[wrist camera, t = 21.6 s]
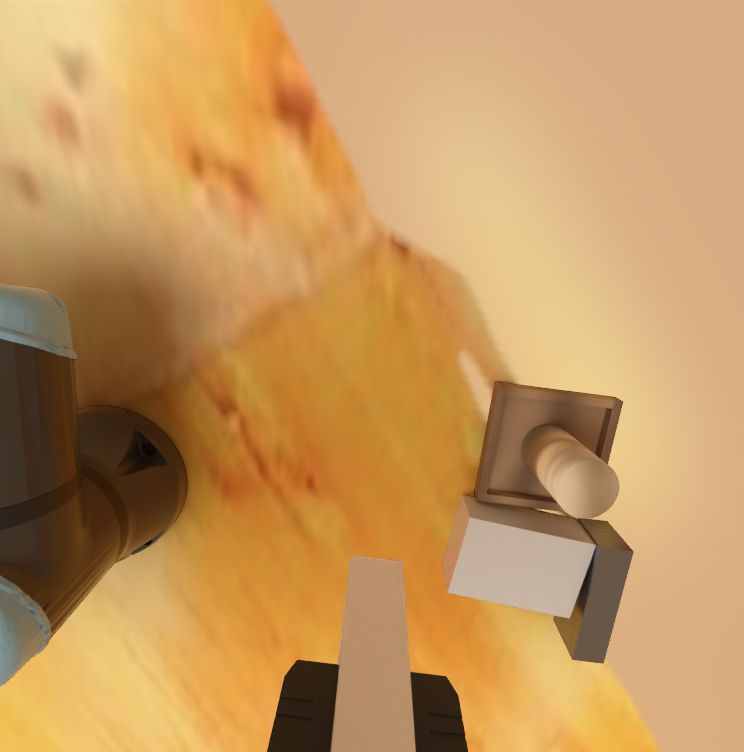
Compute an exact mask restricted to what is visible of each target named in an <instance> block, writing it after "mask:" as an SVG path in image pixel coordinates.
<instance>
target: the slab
mask: <svg viewBox="0 0 744 752" xmlns="http://www.w3.org/2000/svg"><path fill="white" fill-rule="evenodd" d="M595 547H596V544H595V543H594V541H593V540H592V539H591V537H590V536H589V535H588V533H587V532H586V531H585V530H584V528H583V527H582V526H581V524H580V523H579V522H578V520H576V519H571V518H567V517H562V515H558V514H554V513H549V512H545V511H540V510H539V511H535V510H530V509H526V508H521V507H517V506H512V505H507V504H499V503H491V502H483V501H477V500H476V497H471V496H467V495H462V496H461V500H460V503H459V507H458V510H457V513H456V517H455V520H454V524H453V527H452V531H451V534H450V538H449V541H448V544H447V548H446V551H445V555H444V558H443V562H442V567H443V572H444V577H445V582H446V587H447V592H448V593H451V594H456V595H461V596H465V597H470V598H475V599H479V600H484V601H489V602H493V603H498V604H503V605H508V606H512V607H517V608H522V609H526V610H531V611H536V612H540V613H545V614H550V615H555V616H559V617H564V618H569V619H570V616H571V614H572V611H573V608H574V605H575V603H576V600H577V597H578V594H579V591H580V589H581V586H582V583H583V580H584V578H585V575H586V572H587V569H588V567H589V564H590V561H591V558H592V556H593V553H594V550H595Z"/></svg>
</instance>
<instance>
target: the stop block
mask: <svg viewBox="0 0 744 752" xmlns="http://www.w3.org/2000/svg"><path fill="white" fill-rule="evenodd" d="M578 522H579V523H580V524H581V526H582V527H583V528H584V530H585V531H586V532H587V533H588V535H589V536H590V537H591V539H592V540H593V541H594V543H595V544H596V547H595V550H594V553H593V556H592V558H591V561H590V564H589V567H588V569H587V572H586V575H585V578H584V580H583V583H582V586H581V589H580V591H579V594H578V597H577V600H576V603H575V605H574V608H573V611H572V614H571V616H570V619H569V618H564V617H559V616H554V622H555V624H556V626H557V628H558V631H559V633H560V635H561V637H562V639H563V641H564V643H565V645H566V647H567V649H568V652H569V654H570V656H571V658H572V660H579V661H587V662H595V663H604V659H605V656H606V652H607V648H608V644H609V641H610V637H611V633H612V630H613V625H614V622H615V618H616V614H617V611H618V607H619V604H620V600H621V596H622V592H623V589H624V585H625V581H626V577H627V574H628V570H629V567H630V562H631V559H632V555H633V551H632V549H631V548H630V547H629V546H628V545H627V544H626V542H625V541H624V540H623V539H622V538H621V537H620V536H619V534H618V533H617V532H616V531H615V530H614V529H613V527H612V526H611V525H610V524H609V523H608V522H607V521H600V520H592V519H582V518H578Z"/></svg>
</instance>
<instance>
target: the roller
mask: <svg viewBox="0 0 744 752" xmlns="http://www.w3.org/2000/svg"><path fill="white" fill-rule="evenodd" d="M521 456H522V459H523V461H524V463H525V464H526V466H527V467H528V468H529V469H530V470H531V472H532V473H533V474H534V475H535V476H536V478H537V479H538V480H539V481H540V482H541V484H542V485H543V486H544V487H545V488H546V490H547V491H548V492H549V493H550V494H551V496H552V497H553V498H554V499H555V500H556V501H557V503H558V504H559V505H560V506H561V507H562V509H563V510H564V511H565V512H566V513H568V514H569V515H571V516H573V517H576V518H582V519H588V518H593V517H596V516H599V515H601V514H603V513H604V512H606V511H607V510H608V509H609V508H610V507H611V506H612V505H613V503H614V502H615V500H616V498H617V496H618V492H619V481H618V477H617V476H616V473H615V472H614V471H613V469H612V468H611V467H609V466H608V465H607V464H606V463H605V462H603V461H602V460H601V459H600V458H599V457H597V456H596V455H595V454H594V453H592V452H591V451H590V450H589V449H587V448H586V447H585V446H584V445H583V444H581V443H580V442H579V441H578V440H576V439H575V438H574V437H573V436H571V435H570V434H569V433H568V432H567V431H565V430H564V429H563V428H561V427H559V426H557V425H552V424H546V425H541V426H538V427H536V428H534V429H533V430H531V431H530V432H529V433H528V434H527V435H526V437H525V438H524V440H523V442H522V446H521Z"/></svg>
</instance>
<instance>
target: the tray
mask: <svg viewBox="0 0 744 752" xmlns="http://www.w3.org/2000/svg"><path fill="white" fill-rule="evenodd" d="M622 404H623V401H621V400H619V399H618V398H616V397H611V396H602V395H595V394H587V393H580V392H572V391H564V390H556V389H549V388H541V387H533V386H525V385H518V384H510V383H502V382H495V384H494V389H493V394H492V400H491V405H490V411H489V416H488V421H487V426H486V432H485V437H484V442H483V448H482V453H481V459H480V464H479V469H478V475H477V480H476V485H475V491H474V495H475V497H476V500H477V501H483V502H491V503H499V504H507V505H515V506H523V507H531V508H538V509H546V510H554V511H562V512H565V511H564V510H563V509H562V507H561V506H560V505H559V504H558V503H557V501H556V500H555V499H554V498H553V497H552V496H551V494H550V493H549V492H548V491H547V490H546V488H545V487H544V486H543V485H542V484H541V482H540V481H539V480H538V479H537V478H536V476H535V475H534V474H533V473H532V472H531V470H530V469H529V468H528V467H527V466H526V464H525V463H524V461H523V459H522V456H521V446H522V442H523V440H524V438H525V437H526V435H527V434H528V433H529V432H530V431H531V430H533V429H534V428H536V427H538V426H541V425H546V424H552V425H557V426H559V427H561V428H563V429H564V430H565V431H567V432H568V433H569V434H570V435H571V436H573V437H574V438H575V439H576V440H578V441H579V442H580V443H581V444H583V445H584V446H585V447H586V448H587V449H589V450H590V451H591V452H592V453H594V454H595V455H596V456H597V457H599V458H600V459H601V460H602V461H603V462H605V463H606V464H607V465H608V461H609V457H610V453H611V448H612V444H613V440H614V436H615V432H616V428H617V424H618V420H619V416H620V412H621V408H622Z"/></svg>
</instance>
